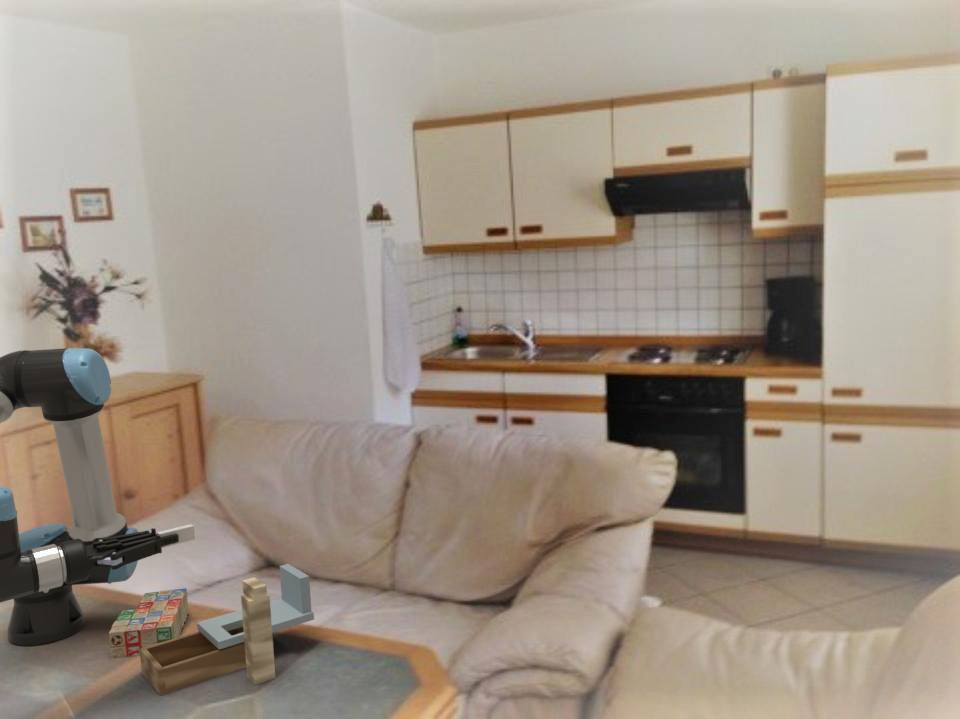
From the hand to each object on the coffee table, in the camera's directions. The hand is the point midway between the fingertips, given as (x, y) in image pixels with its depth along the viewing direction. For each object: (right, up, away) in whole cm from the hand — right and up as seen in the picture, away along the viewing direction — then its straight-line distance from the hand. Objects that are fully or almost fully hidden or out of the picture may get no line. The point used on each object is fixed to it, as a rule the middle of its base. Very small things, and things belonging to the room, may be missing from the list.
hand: (192, 531), depth 164 cm
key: (+14, -28, -3) cm, 31 cm away
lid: (+10, -21, +9) cm, 25 cm away
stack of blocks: (-9, -23, +20) cm, 32 cm away
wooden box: (+1, -28, +2) cm, 28 cm away
